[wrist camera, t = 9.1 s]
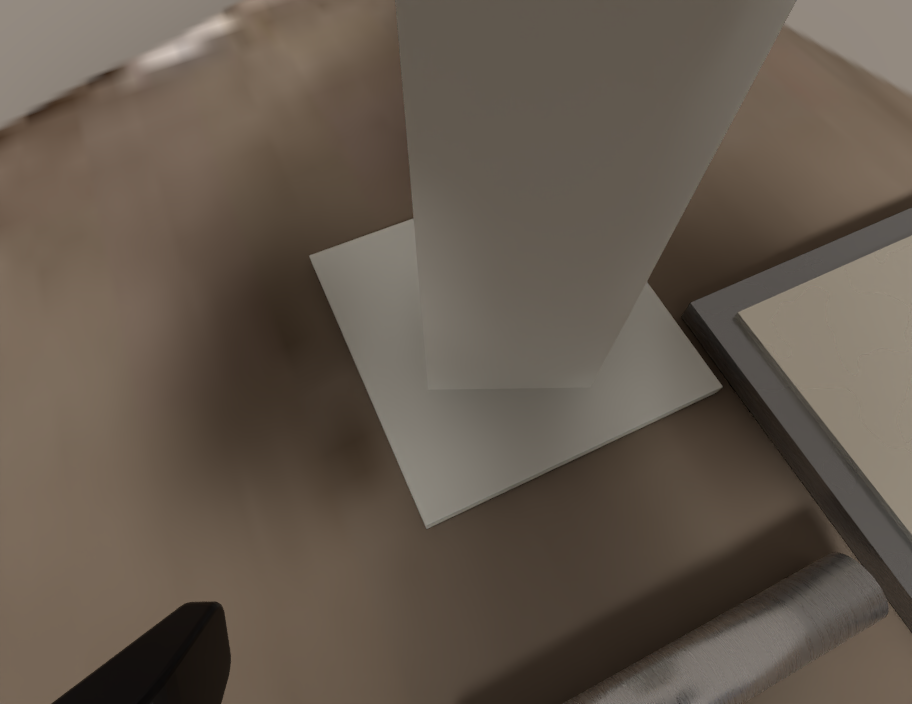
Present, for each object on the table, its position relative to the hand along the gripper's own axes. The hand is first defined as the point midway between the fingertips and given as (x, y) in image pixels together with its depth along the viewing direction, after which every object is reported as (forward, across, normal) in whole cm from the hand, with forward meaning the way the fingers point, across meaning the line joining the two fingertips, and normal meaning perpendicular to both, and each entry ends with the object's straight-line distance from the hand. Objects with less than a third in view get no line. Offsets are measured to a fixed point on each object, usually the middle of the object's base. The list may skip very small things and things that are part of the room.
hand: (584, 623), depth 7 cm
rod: (+4, -3, +6) cm, 8 cm away
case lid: (+11, 0, -1) cm, 11 cm away
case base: (+10, -12, +1) cm, 16 cm away
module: (+11, 0, -1) cm, 11 cm away
